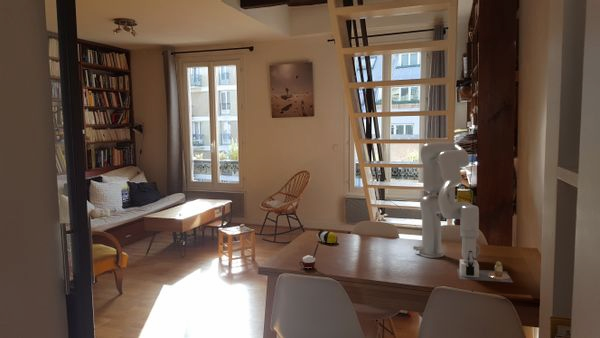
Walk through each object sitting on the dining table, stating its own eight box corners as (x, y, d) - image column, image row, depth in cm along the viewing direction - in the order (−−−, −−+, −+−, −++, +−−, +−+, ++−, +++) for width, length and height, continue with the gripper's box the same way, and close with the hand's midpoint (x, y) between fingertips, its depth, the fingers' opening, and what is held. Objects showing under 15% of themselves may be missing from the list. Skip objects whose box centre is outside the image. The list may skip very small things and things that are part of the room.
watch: (461, 262, 209) (461, 240, 208) (478, 262, 208) (478, 240, 207) (463, 265, 204) (463, 243, 203) (480, 266, 202) (481, 243, 202)
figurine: (321, 239, 262) (321, 226, 262) (340, 243, 252) (340, 229, 251) (312, 241, 256) (312, 228, 256) (331, 246, 246) (331, 232, 245)
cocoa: (298, 270, 205) (296, 246, 204) (303, 265, 211) (301, 242, 210) (317, 270, 202) (315, 246, 201) (321, 266, 208) (319, 242, 206)
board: (459, 282, 182) (459, 269, 182) (456, 271, 195) (456, 260, 195) (513, 285, 176) (513, 272, 176) (506, 274, 190) (506, 262, 189)
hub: (488, 278, 181) (489, 264, 181) (485, 272, 190) (485, 258, 189) (511, 280, 179) (512, 265, 178) (507, 273, 187) (507, 259, 187)
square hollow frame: (461, 276, 185) (461, 264, 184) (459, 271, 192) (459, 259, 191) (478, 277, 183) (478, 265, 183) (476, 272, 190) (476, 260, 189)
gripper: (458, 228, 195) (458, 265, 197) (462, 237, 179) (461, 278, 180) (475, 229, 193) (475, 266, 195) (481, 238, 177) (480, 279, 178)
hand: (469, 272), depth 187 cm, fingers closed on square hollow frame, 7 cm apart
